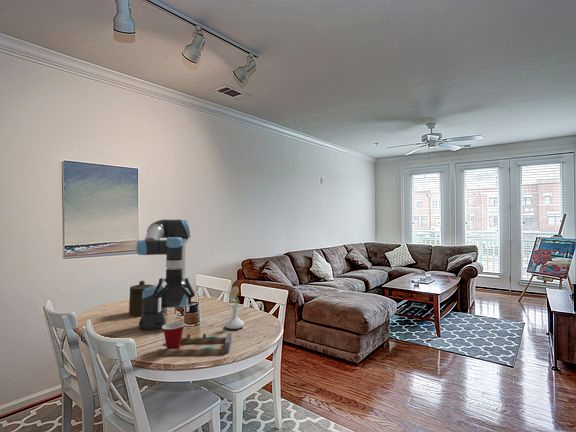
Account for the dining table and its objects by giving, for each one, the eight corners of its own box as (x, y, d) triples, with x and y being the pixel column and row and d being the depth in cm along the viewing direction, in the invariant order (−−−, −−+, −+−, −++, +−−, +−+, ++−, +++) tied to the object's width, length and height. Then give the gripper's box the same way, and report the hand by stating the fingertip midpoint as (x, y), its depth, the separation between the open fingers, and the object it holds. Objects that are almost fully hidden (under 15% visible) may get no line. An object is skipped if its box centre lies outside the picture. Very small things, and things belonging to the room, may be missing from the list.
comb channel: (157, 355, 154) (157, 346, 154) (167, 342, 170) (167, 334, 170) (224, 354, 156) (224, 345, 156) (227, 341, 172) (227, 333, 172)
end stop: (224, 352, 158) (224, 342, 158) (227, 342, 171) (227, 333, 171) (228, 352, 158) (229, 342, 158) (231, 342, 171) (231, 332, 171)
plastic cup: (172, 343, 169) (173, 319, 169) (189, 346, 165) (189, 322, 165) (156, 350, 160) (156, 326, 160) (173, 354, 155) (173, 329, 155)
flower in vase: (223, 325, 198) (223, 284, 198) (241, 323, 202) (242, 282, 202) (227, 332, 186) (228, 288, 186) (247, 330, 190) (247, 287, 190)
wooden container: (156, 310, 228) (156, 278, 228) (148, 316, 213) (148, 283, 213) (134, 310, 228) (135, 278, 228) (125, 316, 213) (125, 282, 213)
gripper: (145, 269, 158) (144, 313, 157) (198, 269, 160) (197, 313, 159) (150, 267, 165) (150, 309, 165) (201, 267, 167) (200, 308, 167)
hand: (173, 311), depth 162 cm, fingers open, 13 cm apart
